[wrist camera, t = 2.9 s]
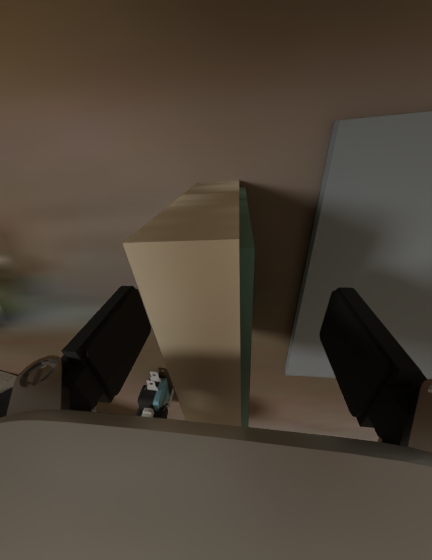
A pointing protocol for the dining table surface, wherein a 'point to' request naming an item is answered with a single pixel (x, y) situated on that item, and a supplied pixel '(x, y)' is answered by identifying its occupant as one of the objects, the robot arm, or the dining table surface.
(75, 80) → the dining table surface
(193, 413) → the light wood flat block
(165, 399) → the push button
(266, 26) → the dining table surface
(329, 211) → the mat
